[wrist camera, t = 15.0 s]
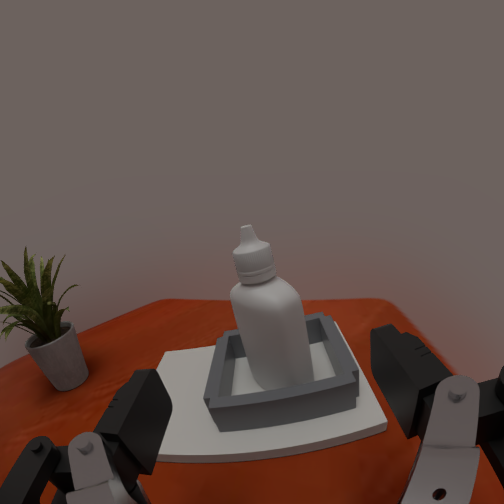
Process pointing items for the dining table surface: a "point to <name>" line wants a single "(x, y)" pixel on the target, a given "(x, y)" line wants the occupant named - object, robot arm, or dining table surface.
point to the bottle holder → (264, 402)
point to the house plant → (45, 326)
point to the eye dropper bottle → (269, 318)
